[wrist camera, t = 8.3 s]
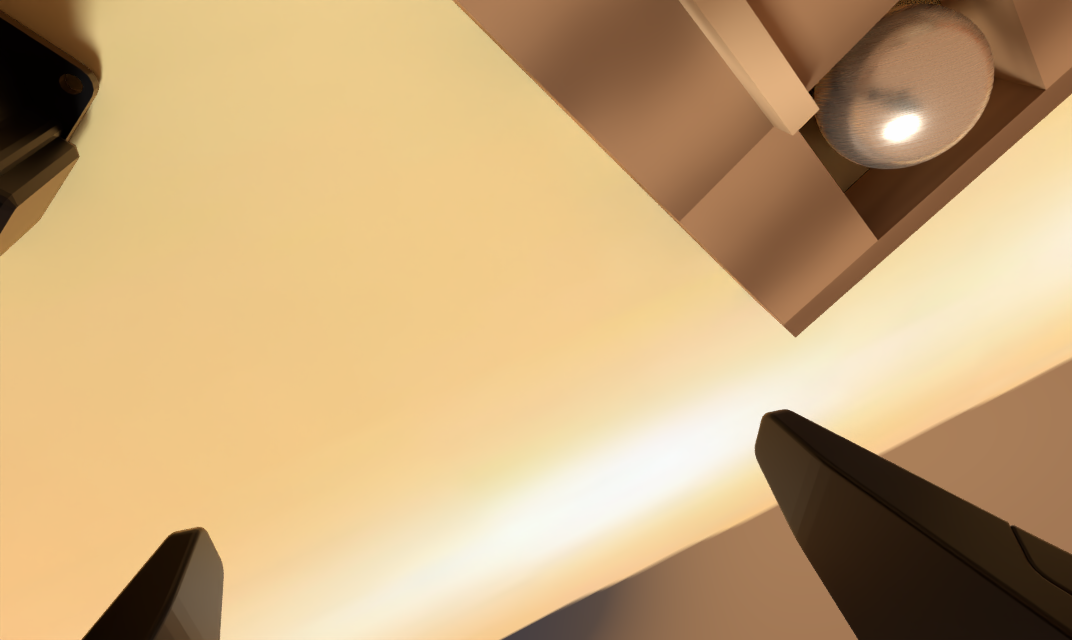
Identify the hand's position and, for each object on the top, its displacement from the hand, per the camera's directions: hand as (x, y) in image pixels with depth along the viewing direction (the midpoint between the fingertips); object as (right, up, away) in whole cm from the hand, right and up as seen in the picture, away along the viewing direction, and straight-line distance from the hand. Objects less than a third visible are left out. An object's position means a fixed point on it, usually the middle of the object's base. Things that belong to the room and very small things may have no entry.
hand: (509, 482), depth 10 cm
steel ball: (+12, +10, +10) cm, 19 cm away
